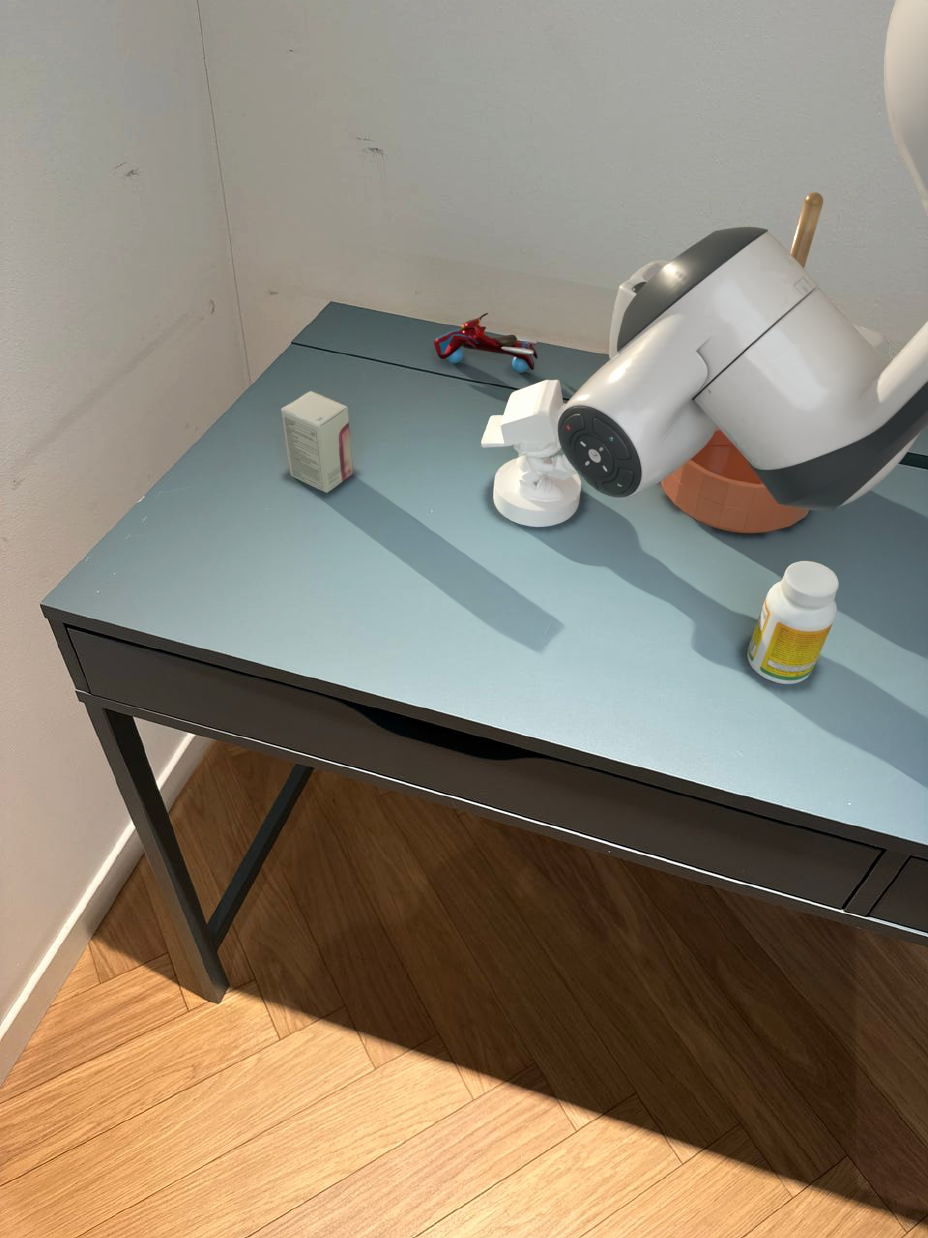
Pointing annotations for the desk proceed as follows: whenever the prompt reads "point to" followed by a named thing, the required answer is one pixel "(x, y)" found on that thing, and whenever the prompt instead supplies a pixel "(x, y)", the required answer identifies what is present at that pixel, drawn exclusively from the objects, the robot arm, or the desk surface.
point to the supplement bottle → (794, 623)
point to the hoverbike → (485, 345)
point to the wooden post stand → (806, 227)
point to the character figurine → (533, 459)
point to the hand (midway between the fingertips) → (790, 293)
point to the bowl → (727, 491)
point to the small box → (318, 441)
